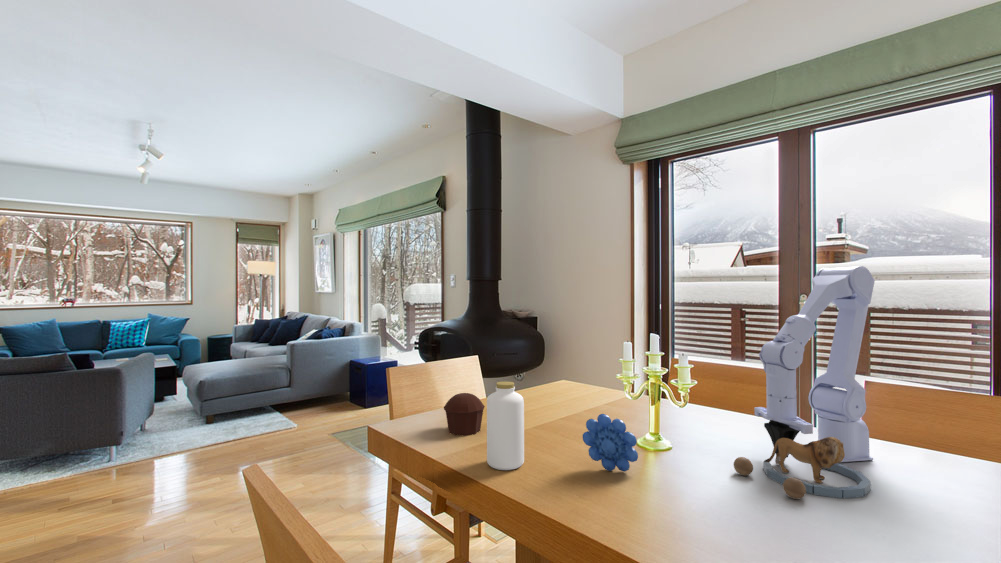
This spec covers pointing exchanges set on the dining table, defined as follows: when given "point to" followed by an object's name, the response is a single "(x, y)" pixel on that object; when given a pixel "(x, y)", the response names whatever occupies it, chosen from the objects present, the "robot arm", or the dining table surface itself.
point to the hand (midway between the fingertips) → (782, 456)
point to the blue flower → (610, 443)
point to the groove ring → (829, 491)
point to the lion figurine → (810, 454)
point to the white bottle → (505, 427)
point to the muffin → (464, 414)
